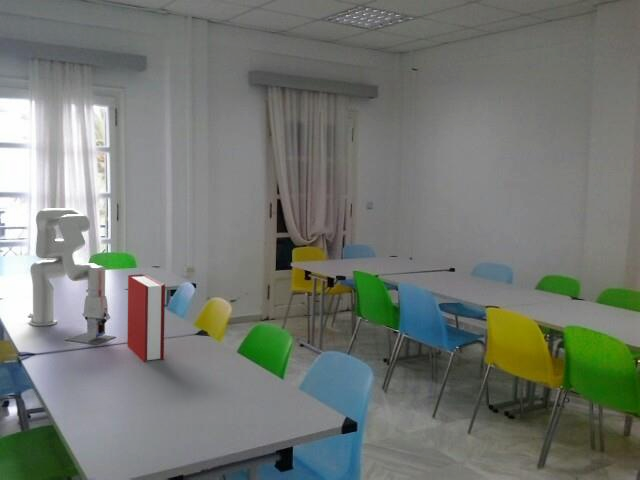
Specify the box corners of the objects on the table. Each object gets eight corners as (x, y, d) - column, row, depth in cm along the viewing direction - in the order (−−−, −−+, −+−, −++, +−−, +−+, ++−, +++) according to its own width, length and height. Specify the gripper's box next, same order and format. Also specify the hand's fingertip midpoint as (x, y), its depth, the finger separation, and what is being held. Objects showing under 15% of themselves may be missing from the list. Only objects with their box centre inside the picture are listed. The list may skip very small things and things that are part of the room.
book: (163, 359, 250) (165, 284, 247) (144, 362, 246) (145, 285, 243) (144, 343, 273) (145, 274, 270) (126, 345, 269) (127, 275, 265)
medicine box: (95, 338, 271) (95, 319, 270) (86, 337, 272) (86, 318, 271) (105, 333, 279) (105, 315, 278) (96, 333, 280) (96, 314, 279)
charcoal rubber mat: (64, 340, 272) (64, 339, 272) (85, 333, 286) (85, 332, 286) (96, 345, 267) (96, 344, 267) (115, 337, 280) (116, 336, 280)
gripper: (75, 292, 272) (75, 331, 274) (106, 296, 267) (106, 336, 269) (86, 289, 280) (86, 327, 281) (117, 293, 274) (117, 332, 276)
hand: (96, 331), depth 275 cm, fingers closed on medicine box, 4 cm apart
